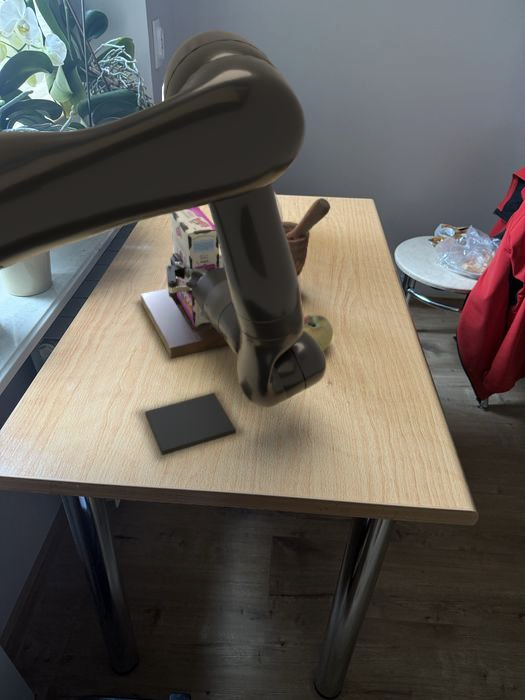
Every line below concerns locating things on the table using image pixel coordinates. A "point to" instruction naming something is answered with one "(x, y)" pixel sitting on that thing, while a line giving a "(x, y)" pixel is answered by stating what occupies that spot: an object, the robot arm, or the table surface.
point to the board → (177, 326)
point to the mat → (189, 423)
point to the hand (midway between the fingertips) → (191, 255)
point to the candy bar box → (194, 252)
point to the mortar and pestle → (304, 231)
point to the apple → (319, 329)
